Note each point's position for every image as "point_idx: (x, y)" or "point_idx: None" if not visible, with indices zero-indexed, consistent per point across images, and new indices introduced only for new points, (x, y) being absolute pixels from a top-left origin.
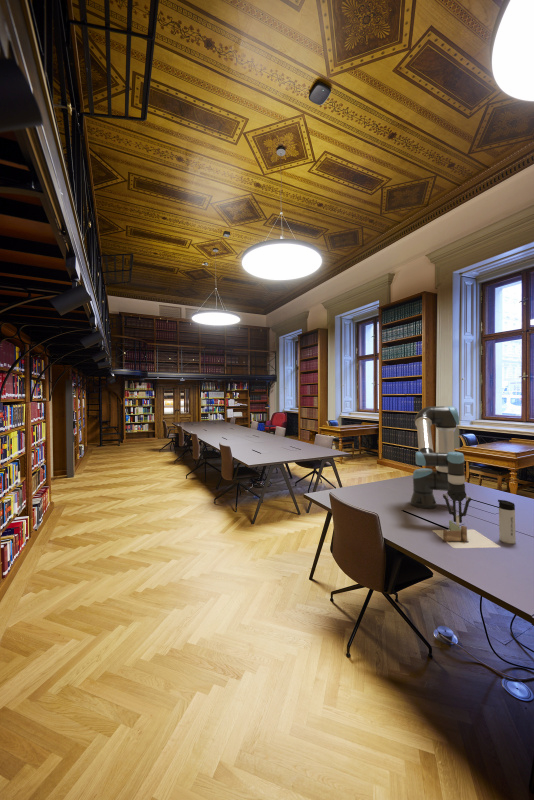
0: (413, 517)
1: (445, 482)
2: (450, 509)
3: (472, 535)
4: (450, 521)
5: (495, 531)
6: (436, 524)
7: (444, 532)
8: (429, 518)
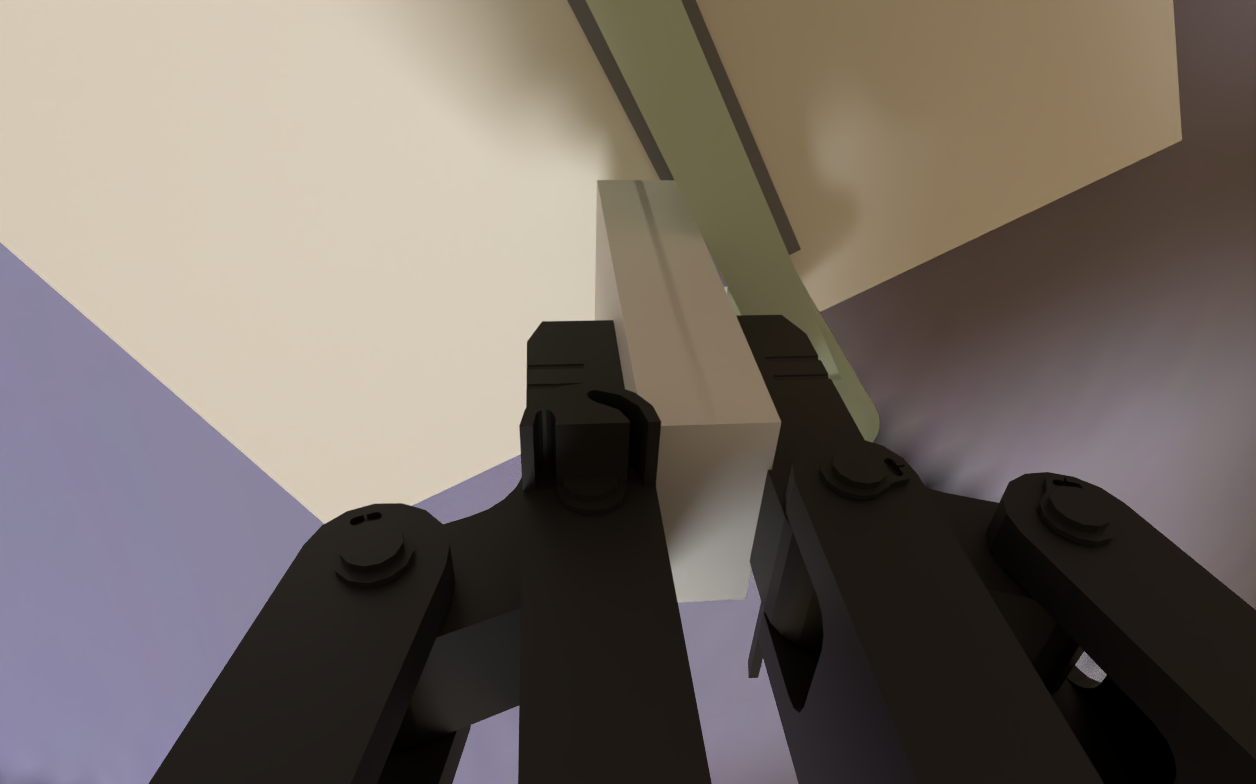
0: None
1: None
2: (1227, 717)
3: (314, 238)
4: (849, 390)
5: (33, 625)
6: None
7: None
8: None
